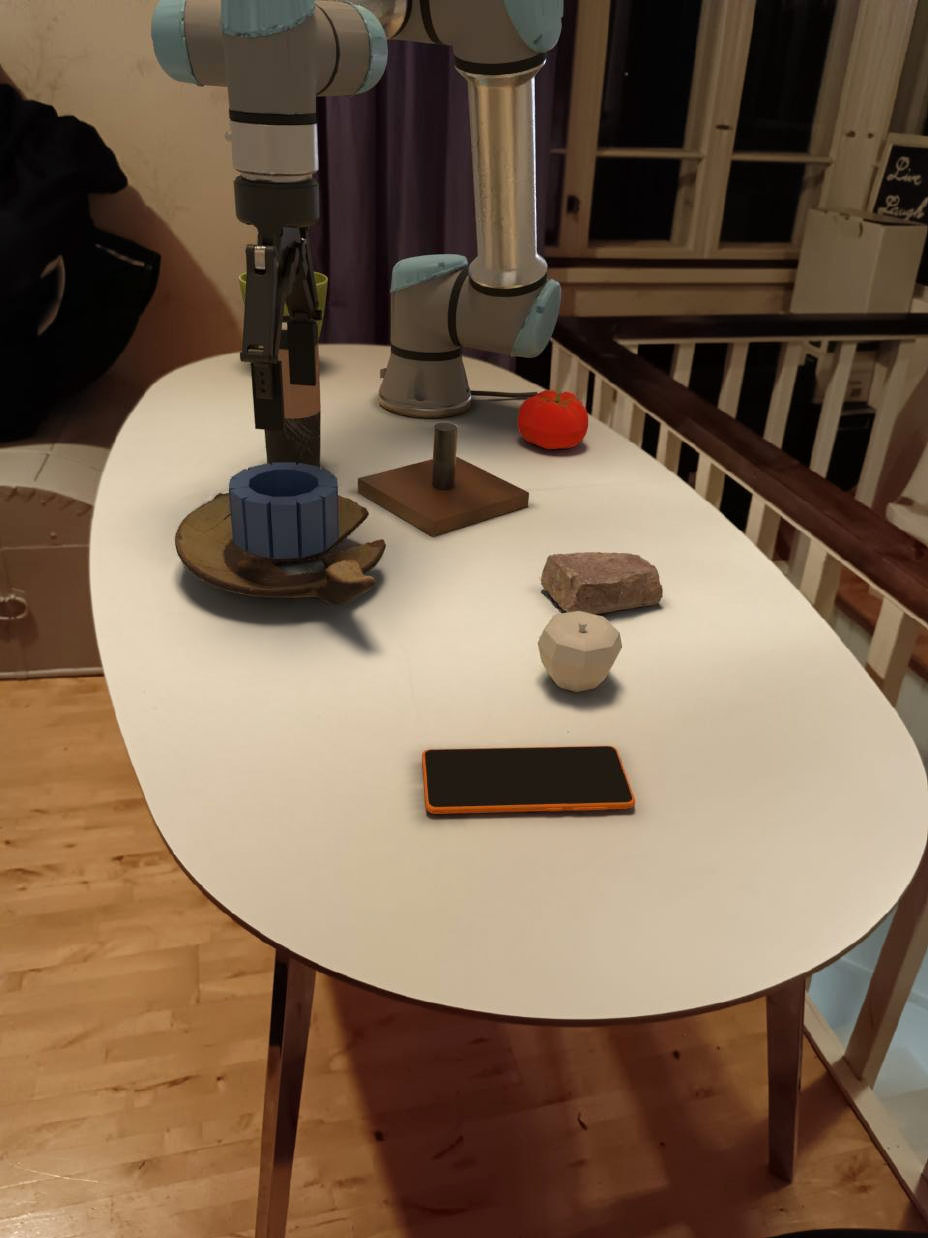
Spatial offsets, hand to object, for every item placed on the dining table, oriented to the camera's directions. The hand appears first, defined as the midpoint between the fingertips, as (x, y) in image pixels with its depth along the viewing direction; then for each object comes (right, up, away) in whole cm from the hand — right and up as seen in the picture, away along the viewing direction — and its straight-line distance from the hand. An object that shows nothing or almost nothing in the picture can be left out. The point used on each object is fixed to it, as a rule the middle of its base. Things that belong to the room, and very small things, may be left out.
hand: (287, 405), depth 96 cm
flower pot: (-14, +23, +74) cm, 79 cm away
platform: (+15, -6, +29) cm, 33 cm away
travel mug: (-6, -1, +35) cm, 36 cm away
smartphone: (+23, -35, -18) cm, 46 cm away
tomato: (+31, +5, +49) cm, 59 cm away
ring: (-1, -13, +5) cm, 14 cm away
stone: (+33, -19, +9) cm, 39 cm away
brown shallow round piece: (-2, -18, +8) cm, 20 cm away
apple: (+28, -28, -5) cm, 40 cm away
